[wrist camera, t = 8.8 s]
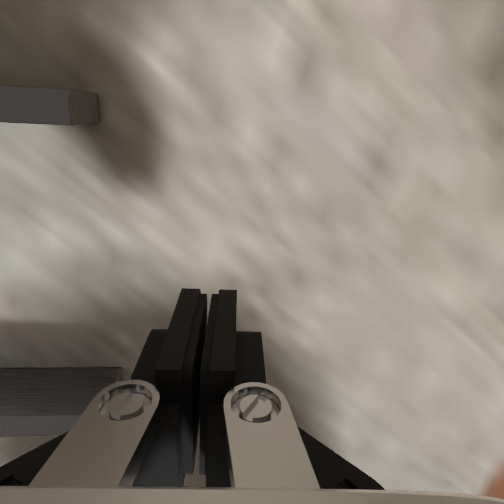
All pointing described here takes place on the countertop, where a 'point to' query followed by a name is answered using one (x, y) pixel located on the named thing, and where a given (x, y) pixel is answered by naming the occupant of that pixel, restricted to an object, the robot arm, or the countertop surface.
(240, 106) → the countertop surface
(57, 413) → the bracket
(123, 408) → the robot arm
